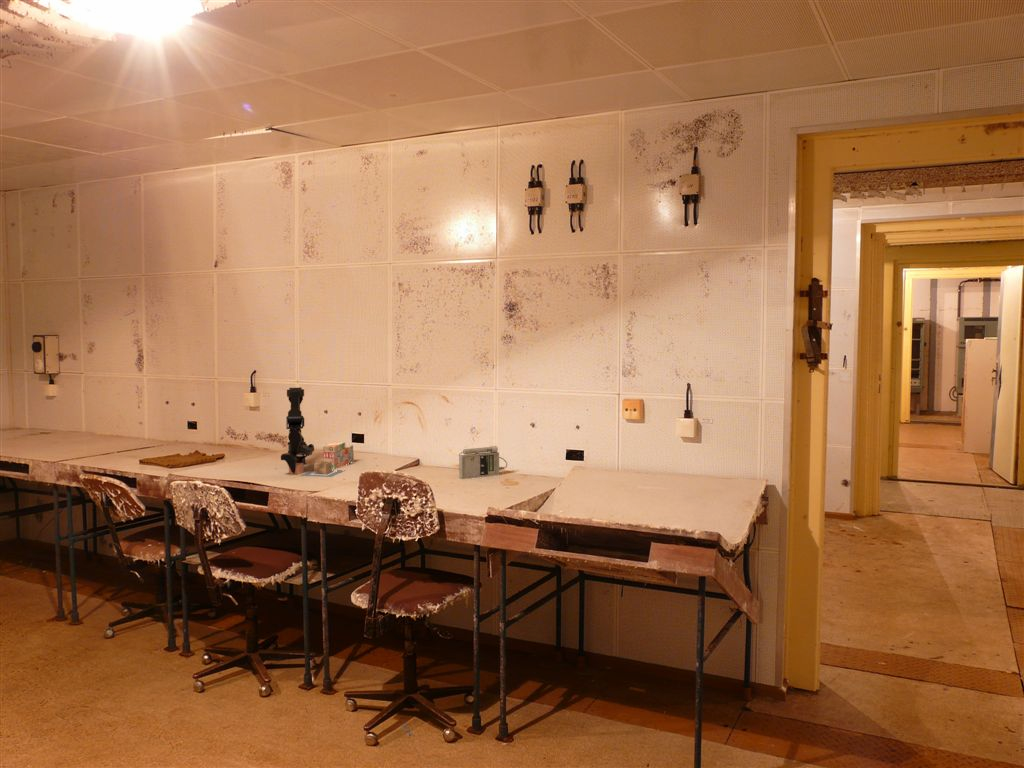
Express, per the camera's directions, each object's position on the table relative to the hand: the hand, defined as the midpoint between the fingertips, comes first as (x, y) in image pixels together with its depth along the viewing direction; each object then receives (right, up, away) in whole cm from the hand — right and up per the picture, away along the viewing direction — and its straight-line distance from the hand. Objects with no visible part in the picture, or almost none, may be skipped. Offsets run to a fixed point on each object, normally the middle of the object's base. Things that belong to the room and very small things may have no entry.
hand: (296, 471), depth 380 cm
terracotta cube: (0, -1, 0) cm, 1 cm away
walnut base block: (+13, 0, -1) cm, 13 cm away
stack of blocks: (+16, 0, +19) cm, 25 cm away
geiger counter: (+90, -1, -6) cm, 90 cm away
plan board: (+13, -1, -1) cm, 13 cm away
